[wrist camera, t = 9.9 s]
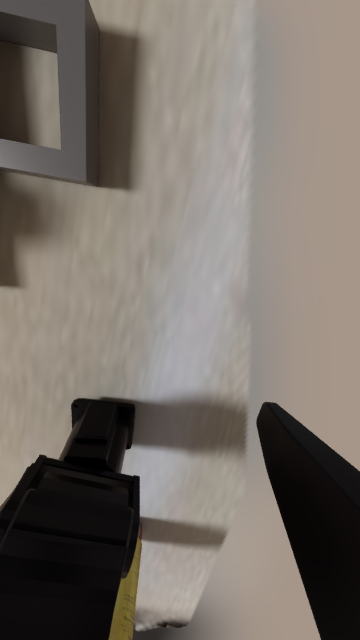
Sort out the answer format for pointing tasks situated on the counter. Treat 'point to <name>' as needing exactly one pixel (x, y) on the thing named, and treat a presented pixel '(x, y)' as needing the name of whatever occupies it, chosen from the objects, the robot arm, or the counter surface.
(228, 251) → the counter surface
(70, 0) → the socket block
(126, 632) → the sauce bottle
